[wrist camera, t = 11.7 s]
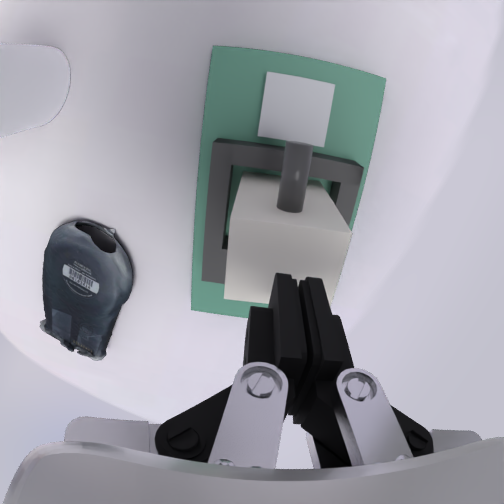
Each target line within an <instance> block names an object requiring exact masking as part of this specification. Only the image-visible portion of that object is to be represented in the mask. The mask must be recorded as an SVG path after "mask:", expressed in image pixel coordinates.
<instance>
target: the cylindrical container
mask: <svg viewBox="0 0 504 504" xmlns="http://www.w3.org/2000/svg"><path fill="white" fill-rule="evenodd" d="M70 75H71V74H70V66H69V63H68V60H67V58H66V56H65V54H64V53H63V52H62V51H61V50H59V49H58V48H56V47H52V46H43V45H30V44H9V43H0V138H2V137H5V136H8V135H12V134H15V133H18V132H21V131H25V130H28V129H32V128H36V127H39V126H43V125H45V124H47V123H49V122H50V121H51V120H52V119H54V117H55V116H56V115H57V114H58V113H59V111H60V110H61V108H62V107H63V105H64V103H65V100H66V98H67V95H68V92H69V86H70Z"/></svg>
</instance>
